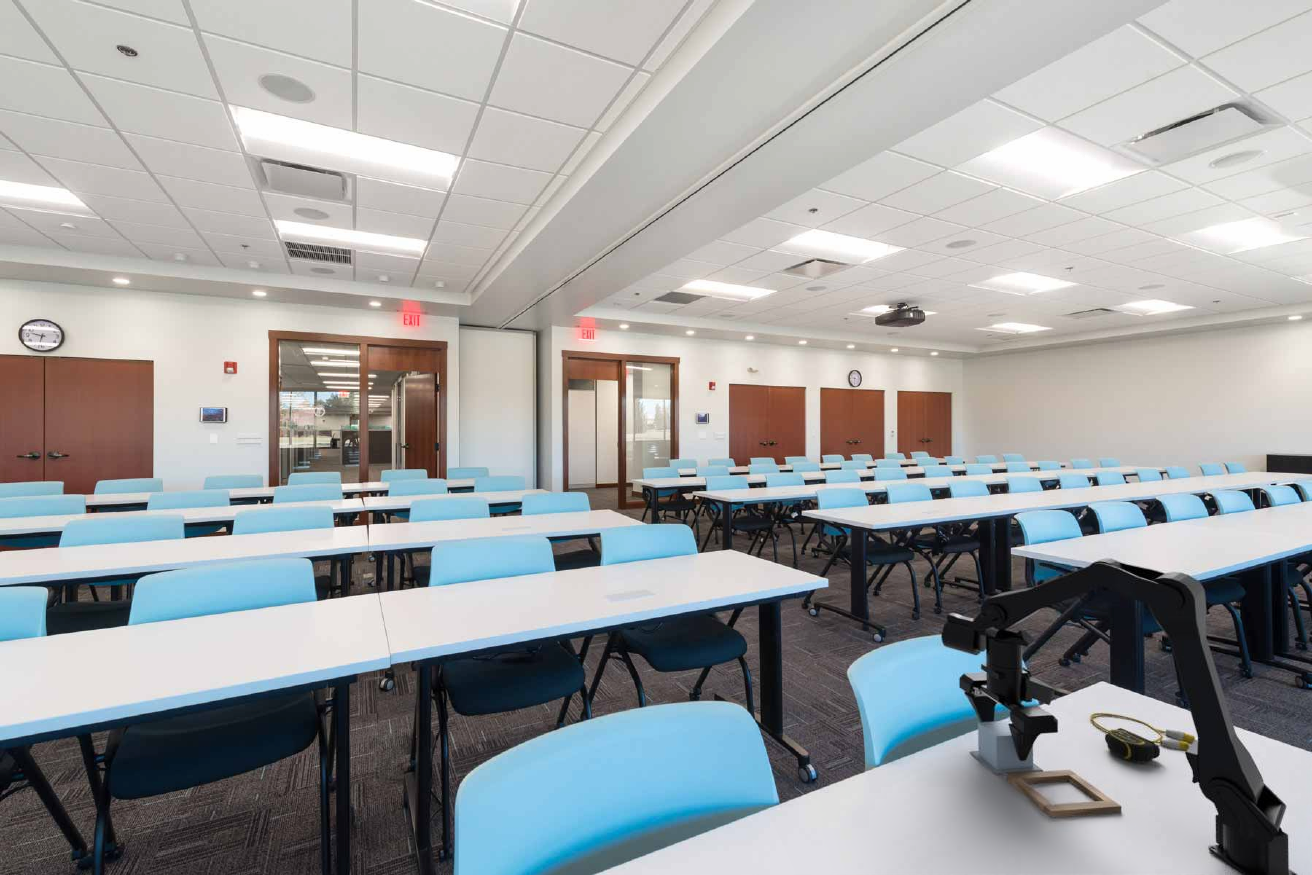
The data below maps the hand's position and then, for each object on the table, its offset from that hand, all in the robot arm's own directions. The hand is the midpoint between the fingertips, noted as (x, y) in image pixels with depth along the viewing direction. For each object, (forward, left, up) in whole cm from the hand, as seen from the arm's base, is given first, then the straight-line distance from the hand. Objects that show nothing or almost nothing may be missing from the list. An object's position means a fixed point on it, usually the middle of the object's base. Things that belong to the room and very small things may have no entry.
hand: (1005, 746), depth 104 cm
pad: (0, 0, -3) cm, 3 cm away
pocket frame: (-10, -2, -3) cm, 11 cm away
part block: (0, 0, -2) cm, 2 cm away
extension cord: (+7, -34, -4) cm, 35 cm away
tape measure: (0, -25, -3) cm, 25 cm away
